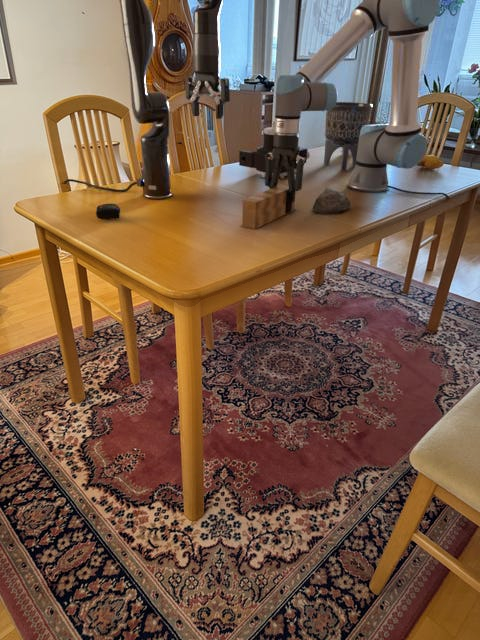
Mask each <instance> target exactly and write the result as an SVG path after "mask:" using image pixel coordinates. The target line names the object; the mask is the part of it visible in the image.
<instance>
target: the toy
mask: <svg viewBox="0 0 480 640" xmlns="http://www.w3.org/2000/svg"><path fill="white" fill-rule="evenodd" d="M444 165H445V163H444V161H443V160H440V159H439V158H438V157H437V156H436V155H433V154H428V155H424V156H423V158H422V159H421V160H420V162H419V163H418V164H417V165H416V166H418V167H422V168H426V169H428V170H432V171H433V170H436V169H439V168H443V166H444Z"/></svg>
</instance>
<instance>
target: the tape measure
mask: <svg viewBox="0 0 480 640" xmlns="http://www.w3.org/2000/svg"><path fill="white" fill-rule="evenodd" d="M95 216H96V218H97V219H99V220H106V221H111V220H115V219H116V220H117V219H118V220H119V219H120V218H121V217H120V216H121V207H119V205H118V204H116V203H102V204H99V205H97V207H96V211H95Z"/></svg>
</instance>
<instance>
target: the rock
mask: <svg viewBox="0 0 480 640" xmlns="http://www.w3.org/2000/svg"><path fill="white" fill-rule="evenodd" d="M351 207H352V204H351V201H350V199H349V198H348V196H347V195H346V194H344V193H342V192H340V191H337V190H334V189H332V188H329V187H325V189H324V190H323V192H321V193H320V194H319V195H318V196H317V197H316V198H315V200H314V202H313V205H312V210H313V211H314V212H316V213H318V212H319V213H322V214H335V213H337V214H339V213H343V212H344V210H348V209H349V208H351Z"/></svg>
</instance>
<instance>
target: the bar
mask: <svg viewBox="0 0 480 640" xmlns="http://www.w3.org/2000/svg"><path fill="white" fill-rule="evenodd" d="M288 191H289V185H288V183H287V184H286V183H282V184H280V185H277V187H274V188H272V189H270V188H269V189H267V190H264V191H261V192H258V193H256V194H254V195H251V196H249V197H246V198H243V199H242V220H241V221H242V224H241V226H242V227H244V228H249V229H253V230H256V229H258V228H260V227H262V226H264V225H266V224H268V223H271V222H272V221H274V220H277V219H279V218H281V217H283V216H285V215H287V214H288V213H285V211H286V198H287V192H288ZM295 201H296V200H295ZM295 201H294V202H292V211H291V212H293V211H294V210H295V204H296V203H295Z"/></svg>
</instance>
